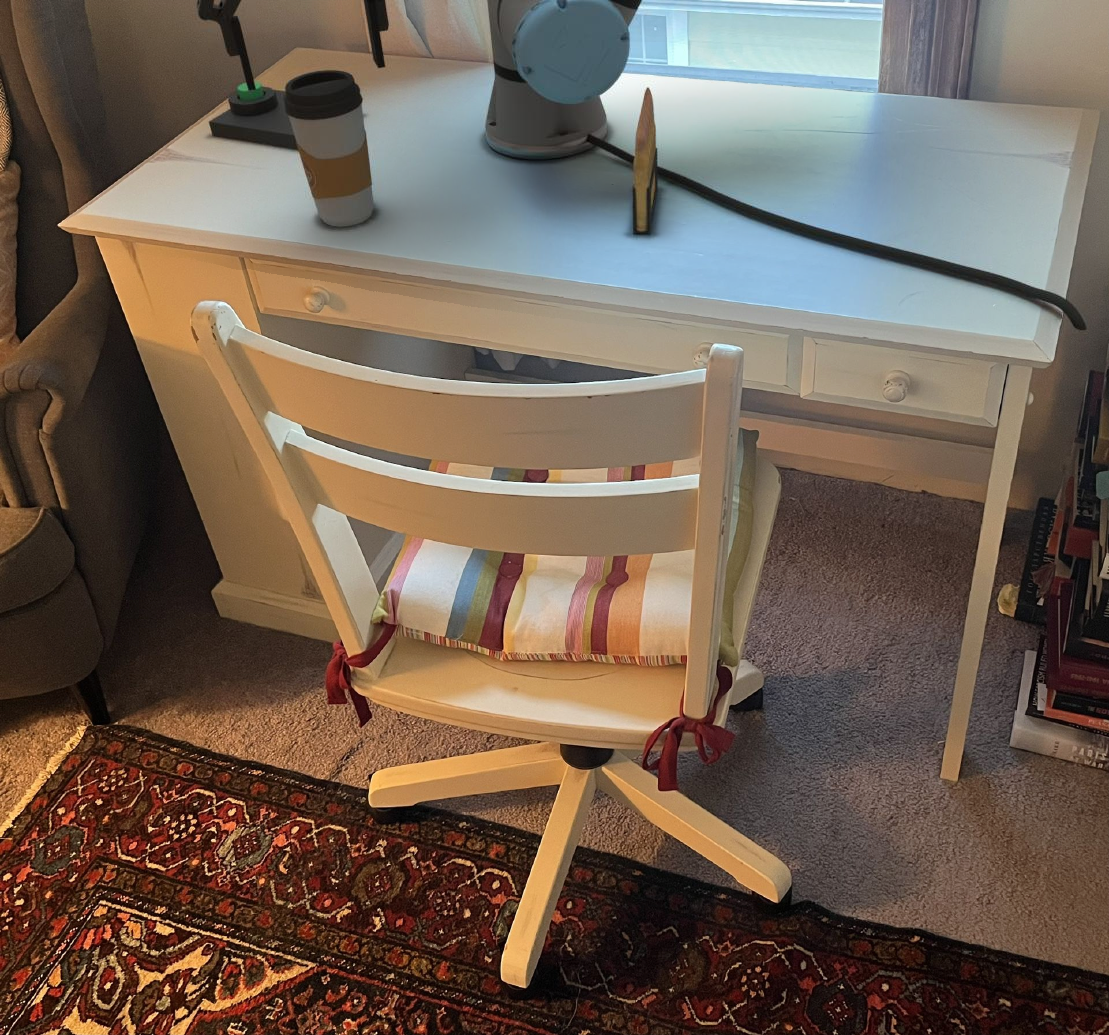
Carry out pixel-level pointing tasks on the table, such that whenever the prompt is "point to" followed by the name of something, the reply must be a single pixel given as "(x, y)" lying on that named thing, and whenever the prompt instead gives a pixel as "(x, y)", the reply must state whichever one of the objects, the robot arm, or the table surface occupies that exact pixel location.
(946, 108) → the table surface
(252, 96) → the button
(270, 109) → the scale
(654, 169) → the ammunition clip
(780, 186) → the table surface
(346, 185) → the coffee cup
